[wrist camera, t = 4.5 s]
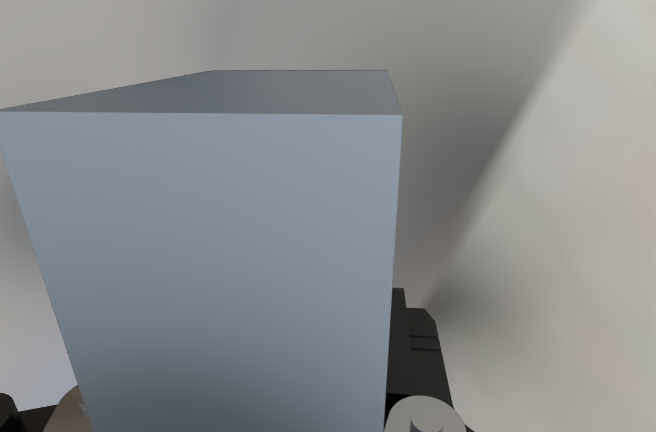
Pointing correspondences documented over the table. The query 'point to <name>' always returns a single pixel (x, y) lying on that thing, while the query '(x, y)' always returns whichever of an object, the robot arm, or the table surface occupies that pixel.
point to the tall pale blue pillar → (218, 246)
